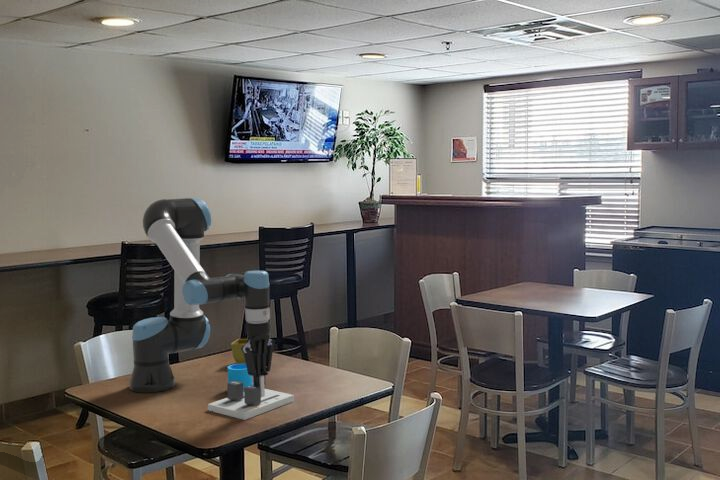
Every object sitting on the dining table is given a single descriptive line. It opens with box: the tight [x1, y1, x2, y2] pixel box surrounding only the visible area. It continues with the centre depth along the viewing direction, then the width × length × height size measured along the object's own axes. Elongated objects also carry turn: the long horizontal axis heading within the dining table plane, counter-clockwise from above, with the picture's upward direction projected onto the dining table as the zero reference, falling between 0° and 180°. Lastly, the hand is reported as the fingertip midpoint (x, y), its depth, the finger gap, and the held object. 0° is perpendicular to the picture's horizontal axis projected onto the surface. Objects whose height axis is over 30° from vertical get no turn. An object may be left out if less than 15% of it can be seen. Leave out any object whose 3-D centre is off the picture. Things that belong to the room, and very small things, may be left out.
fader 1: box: [226, 381, 244, 401], centre depth 234 cm, size 4×3×5 cm
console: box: [207, 388, 295, 421], centre depth 234 cm, size 16×22×2 cm
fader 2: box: [244, 385, 261, 406], centre depth 228 cm, size 4×3×5 cm
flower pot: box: [230, 338, 248, 364], centre depth 286 cm, size 9×9×9 cm
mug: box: [227, 363, 254, 391], centre depth 252 cm, size 12×8×8 cm
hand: (259, 396), depth 231 cm, fingers closed
